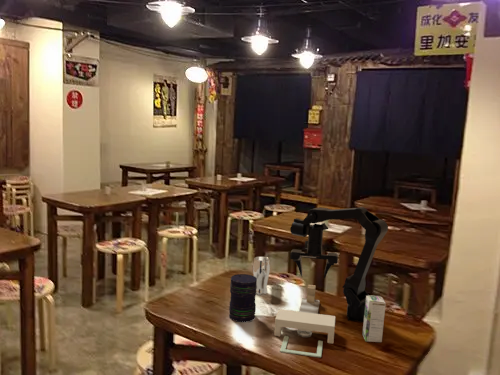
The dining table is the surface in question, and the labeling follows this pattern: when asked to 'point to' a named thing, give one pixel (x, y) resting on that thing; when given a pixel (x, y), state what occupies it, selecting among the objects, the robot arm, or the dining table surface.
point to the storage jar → (242, 298)
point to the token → (304, 333)
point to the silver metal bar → (310, 301)
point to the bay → (283, 349)
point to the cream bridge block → (305, 322)
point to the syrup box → (373, 319)
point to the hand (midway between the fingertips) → (312, 276)
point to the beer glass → (261, 274)
